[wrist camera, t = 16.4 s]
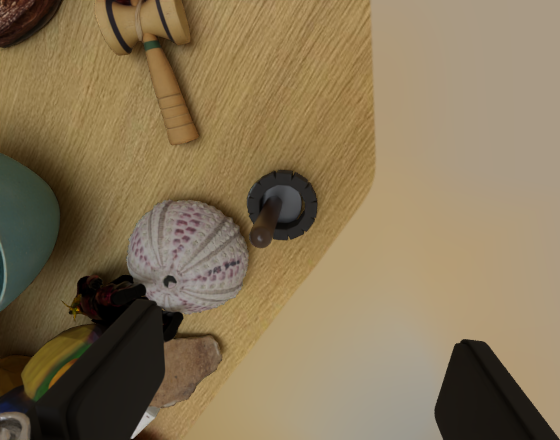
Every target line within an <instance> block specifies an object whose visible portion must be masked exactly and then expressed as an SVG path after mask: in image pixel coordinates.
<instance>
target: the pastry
mask: <svg viewBox="0 0 560 440" xmlns="http://www.w3.org/2000/svg"><path fill="white" fill-rule="evenodd" d="M60 1H61V0H0V47H2V48H6V47H10V46H12V45H15V44H17V43H19V42H21V41H23V40H26V39H27V38H29V37H30V36H31V35H33V34H34V33H35V32H37V31H38V30H39V29H40V28H42V27H43V26H44V25H45V24H46V23H47V22H48V21H49V20H50V19H51V18H52V16H53V15H54V13H55V12H56V10H57V8H58V6H59V4H60Z"/></svg>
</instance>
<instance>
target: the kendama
mask: <svg viewBox="0 0 560 440" xmlns="http://www.w3.org/2000/svg"><path fill="white" fill-rule="evenodd" d="M94 11H95V16H96V19H97V23H98V26H99V28H100V31H101V33H102V35H103V37H104V39H105V41H106V42H107V44H108V46H109V47H110V48H111V50H112V51H113V52H114V53H115V54H117V55H128V54H130V53H131V51H132V49H133V47H134V46H135V44H136V43H137V42H139V41H141V42H143V44H144V49H145V53H146V58H147V62H148V66H149V71H150V75H151V79H152V83H153V86H154V90H155V93H156V96H157V98H158V103H159V106H160V109H161V113H162V116H163V119H164V123H165V127H166V128H167V134H168V138H169V142H170V144H171V145H177V144H182V143H186V142H190V141H192V140H195V139H197V138H198V137H199V136H198V133H197V131H196V128H195V126H194V124H193V123H192V119H191V116H190V114H189V112H188V109H187V106H186V105H185V101H184V98H183V96H182V95H181V91H180V88H179V85H178V83H177V80H176V78H175V75H174V73H173V71H172V69H171V66H170V64H169V62H168V60H167V58H166V56H165V54H164V51H163V49H162V47H161V45H160V43H159V41H158V39H157V36H159V37H163V38H166V39H169V40H171V41H173V42H174V43H176V44H177V45H183V44H186V43H190V39H191V37H190V31H189V26H188V22H187V18H186V14H185V10H184V7H183V4H182V1H181V0H96V1H95V3H94Z"/></svg>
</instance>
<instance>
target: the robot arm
mask: <svg viewBox="0 0 560 440" xmlns="http://www.w3.org/2000/svg"><path fill="white" fill-rule="evenodd" d="M164 376H165V356H164V339H163V322H162V308H161V306H157V303H156V301H153V300H145V299H136V300H135V301H134V302H133V303H132V304H131V305H130V306H129V307H128V308H127V309H126V310H125V311H124V312H123V314H122V315H121V316H120V317H119V318H118V319H117V320H116V321H115V322H114V323H113V324H112V325H111V326H110V327H109V328H108V329H107V330H106V331H105V332H104V333H103V334H102V335H101V336H100V338H98V339H97V340H96V341H95V342H94V343H93V344H92V345H91V346H90V347H89V348H88V349H87V350H86V351H85V352H84V353H83V354H82V355H81V356H80V357H79V358H78V359H77V360H76V361H75V362H74V363H73V364H72V365H71V367H70V368H69V369H68V370H67V371H66V372H65V373H64V374H63V375H62V376H61V377H60V378H59V379H58V380H57V381H56V382H55V383H54V384H53V385H52V386H51V387H50V388H49V389H48V390H47V391H46V392H45V394H44V395H43V396H42V397H41V398H40V399H39V400H38V401H37V402H36V403H35V404H34V405H33V406H32V407H31V408H30V409H29V410H28V411H27V412H26V413H25V414H24V413H20V412H4V413H0V440H130V438H131V437H132V435H133V433H134V431H135V430H136V428H137V426H138V424H139V423H140V421H141V419H142V417H143V415H144V414H145V412H146V410H147V408H148V407H149V405H150V403H151V401H152V399H153V398H154V396H155V394H156V392H157V391H158V389H159V387H160V385H161V383H162V381H163V379H164ZM435 419H436V423H437V425H438V428H439V430H440V433H441V435H442V437H443V440H560V439H559V438H558V437H557V435H556V434H555V433H554V431H553V430H552V429H551V427H550V426H549V425H548V423H547V422H546V421H545V419H544V418H543V417H542V416H541V414H540V413H539V412H538V410H537V409H536V408H535V406H534V405H533V404H532V402H531V401H530V400H529V398H528V397H527V396H526V395H525V393H524V392H523V391H522V390H521V388H520V387H519V385H518V384H517V383H516V382H515V380H514V379H513V377H512V376H511V375H510V373H508V371H507V369H506V368H505V367H504V366H503V364H502V363H501V362H500V360H499V359H498V358H497V356H496V355H495V354H494V352H493V351H492V350H491V348H490V347H489V346H488V345H487V344H486V343H485V342H483V341H476V340H475V341H474V340H468V339H463V340H462V341H461V342H460V343H456V344H455V346H454V349H453V352H452V355H451V358H450V362H449V364H448V368H447V371H446V374H445V377H444V381H443V383H442V387H441V390H440V393H439V396H438V399H437V403H436V406H435Z"/></svg>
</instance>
